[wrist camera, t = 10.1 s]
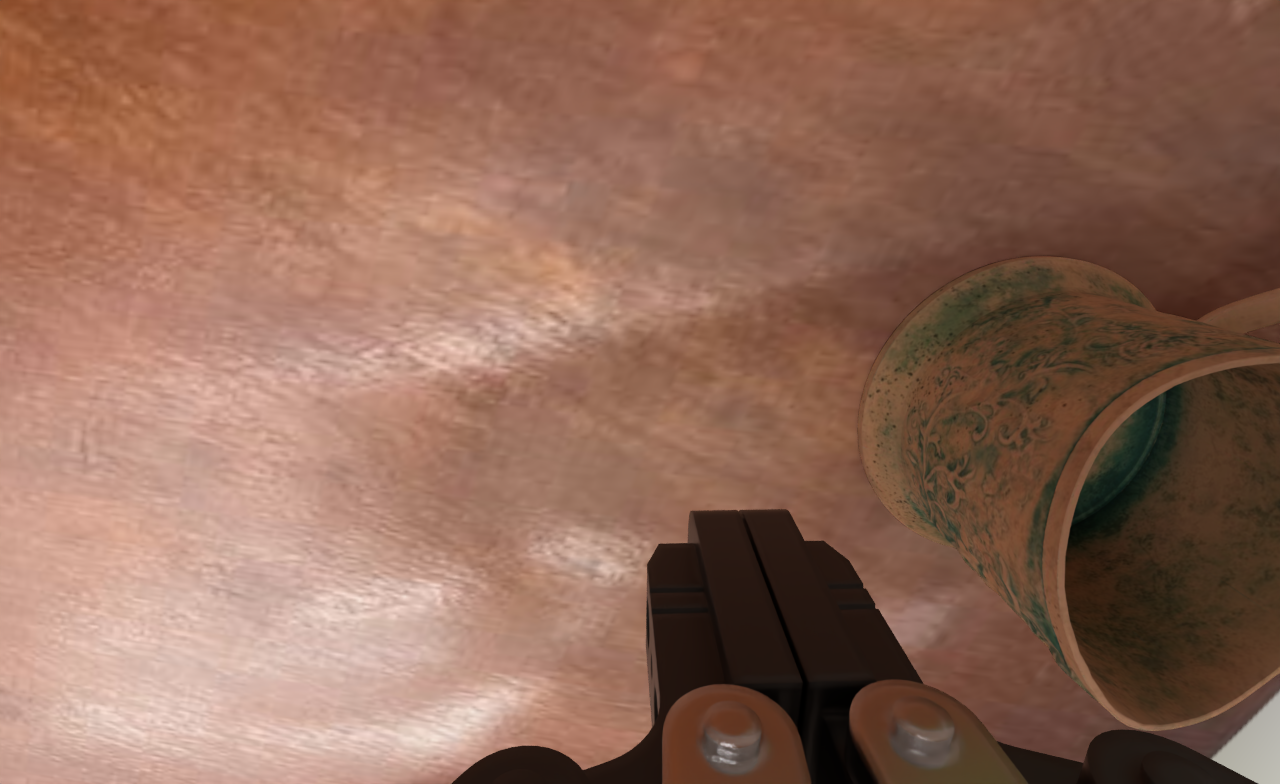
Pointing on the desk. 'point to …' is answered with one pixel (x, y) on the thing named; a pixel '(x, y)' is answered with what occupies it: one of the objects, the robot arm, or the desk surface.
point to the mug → (1096, 474)
